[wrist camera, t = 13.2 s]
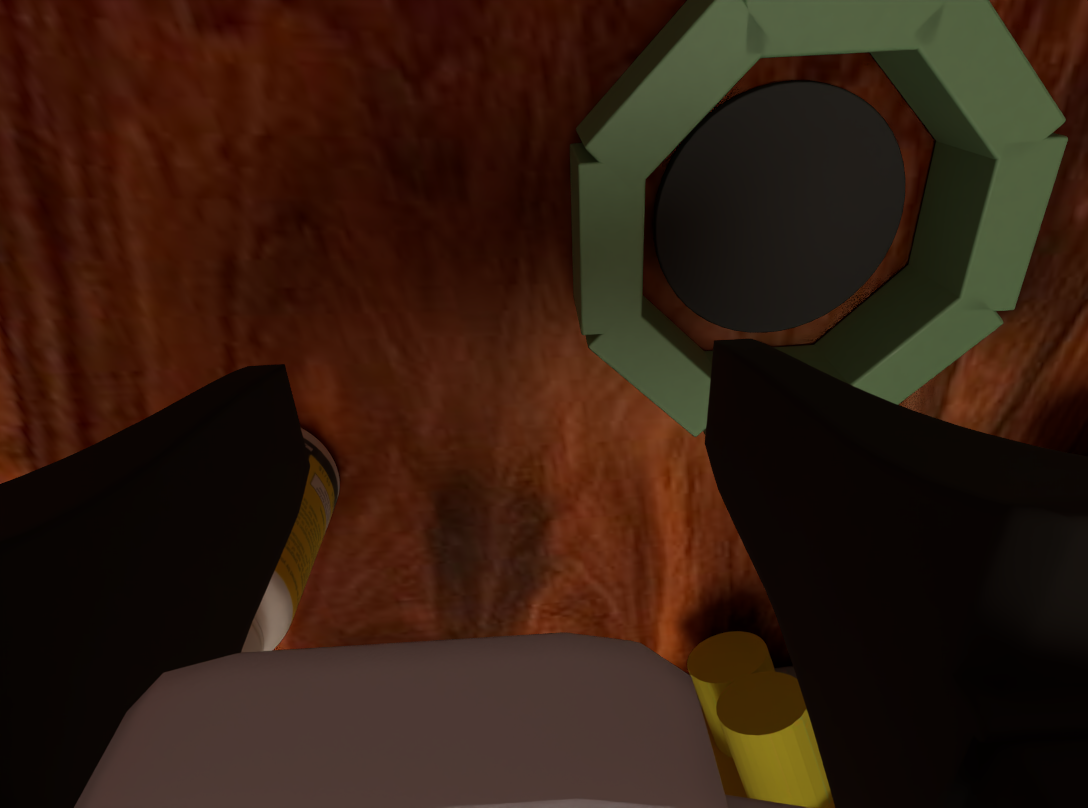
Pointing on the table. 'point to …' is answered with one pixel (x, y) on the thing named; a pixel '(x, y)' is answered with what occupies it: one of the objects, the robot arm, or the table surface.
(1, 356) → the table surface
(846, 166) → the coaster
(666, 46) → the ring
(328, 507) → the supplement bottle
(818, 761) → the toy
